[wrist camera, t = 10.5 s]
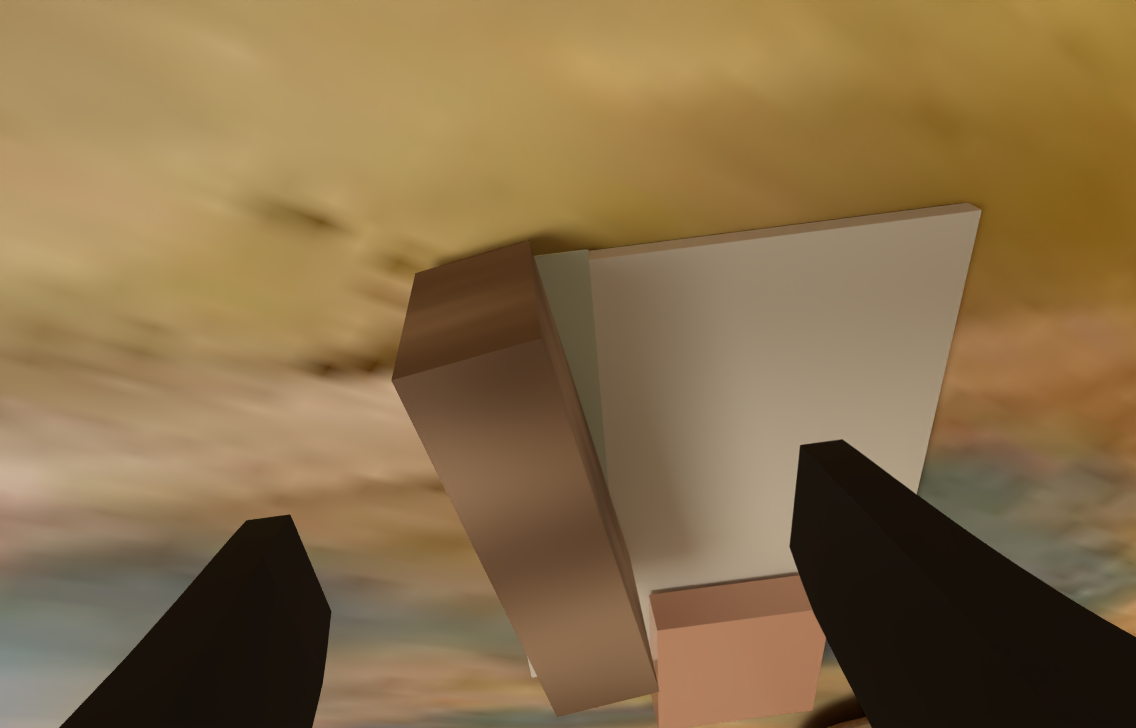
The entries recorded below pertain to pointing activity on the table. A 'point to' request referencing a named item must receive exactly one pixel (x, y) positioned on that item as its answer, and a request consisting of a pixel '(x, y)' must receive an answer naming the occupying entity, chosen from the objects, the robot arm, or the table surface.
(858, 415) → the board
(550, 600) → the bar
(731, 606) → the tile
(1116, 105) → the table surface
